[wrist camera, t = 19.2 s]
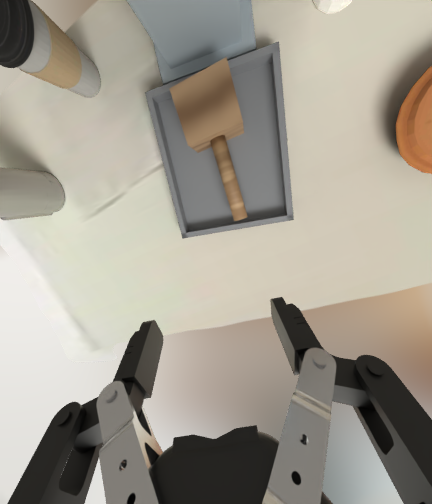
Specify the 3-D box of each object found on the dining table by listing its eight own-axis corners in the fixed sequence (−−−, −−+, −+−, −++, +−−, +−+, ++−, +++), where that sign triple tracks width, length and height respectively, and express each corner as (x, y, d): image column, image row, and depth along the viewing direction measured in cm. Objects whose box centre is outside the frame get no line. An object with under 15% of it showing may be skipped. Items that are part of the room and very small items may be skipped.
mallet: (263, 209, 36) (266, 213, 30) (220, 223, 38) (215, 228, 33) (230, 81, 31) (226, 56, 25) (183, 106, 33) (169, 88, 27)
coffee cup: (56, 68, 35) (-71, -12, 21) (90, 34, 33) (-30, -84, 19) (85, 119, 37) (-14, 75, 23) (119, 90, 35) (30, 21, 21)
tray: (290, 217, 36) (293, 219, 34) (187, 235, 41) (182, 238, 38) (276, 55, 29) (278, 41, 26) (153, 100, 34) (144, 92, 31)
